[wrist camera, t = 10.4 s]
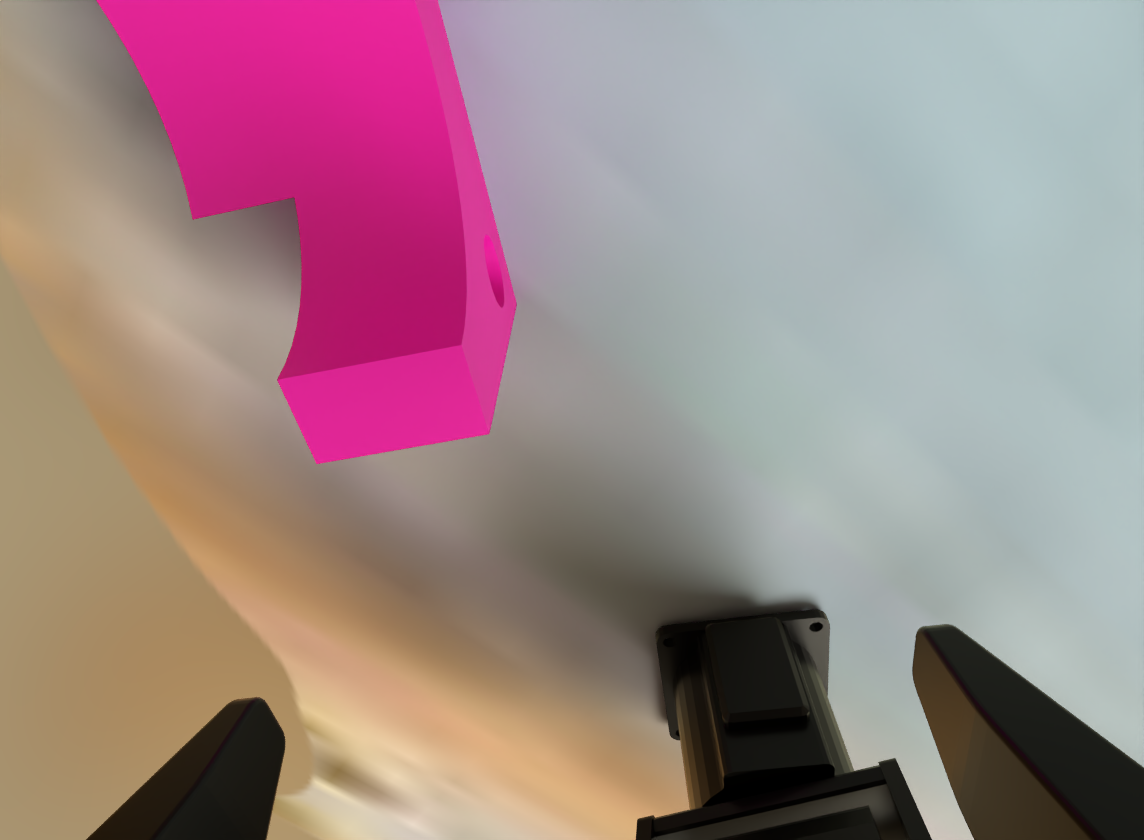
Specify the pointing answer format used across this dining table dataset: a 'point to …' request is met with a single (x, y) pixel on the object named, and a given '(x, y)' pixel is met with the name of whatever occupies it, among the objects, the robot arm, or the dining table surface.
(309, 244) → the toy block
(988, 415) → the dining table surface
